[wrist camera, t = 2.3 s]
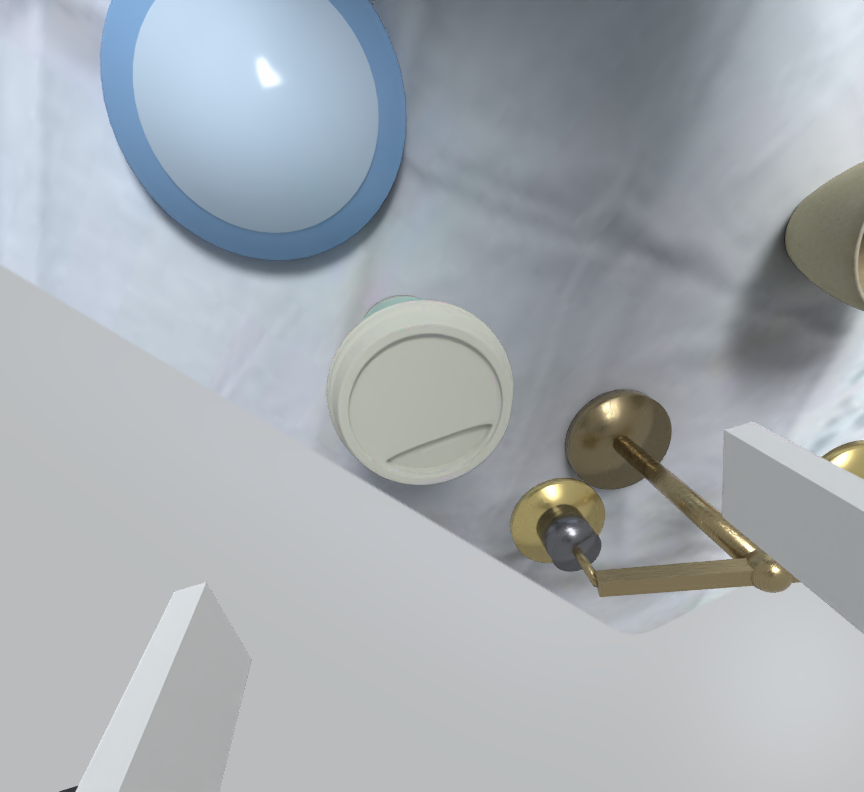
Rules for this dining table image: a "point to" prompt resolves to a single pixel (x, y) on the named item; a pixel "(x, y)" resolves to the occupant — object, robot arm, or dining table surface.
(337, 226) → the dish
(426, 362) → the coffee cup
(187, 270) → the dining table surface
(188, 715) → the robot arm
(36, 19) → the dining table surface
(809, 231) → the flower pot
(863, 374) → the dining table surface
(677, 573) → the balance
